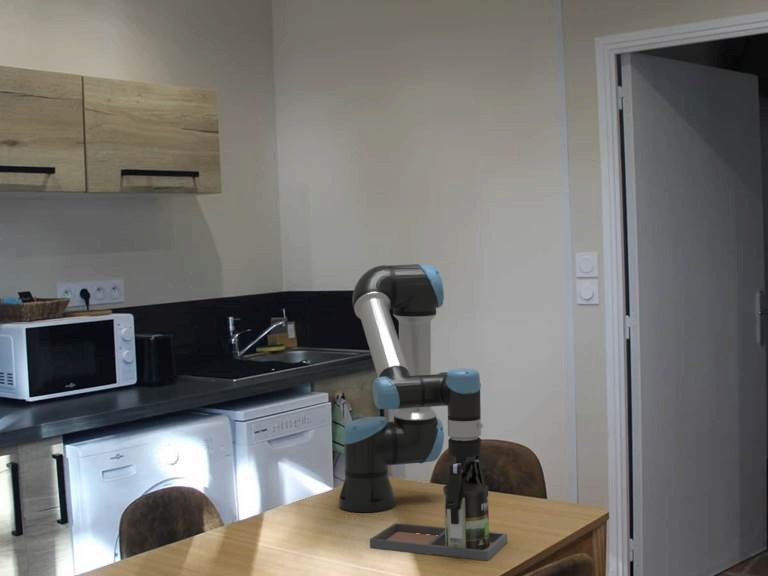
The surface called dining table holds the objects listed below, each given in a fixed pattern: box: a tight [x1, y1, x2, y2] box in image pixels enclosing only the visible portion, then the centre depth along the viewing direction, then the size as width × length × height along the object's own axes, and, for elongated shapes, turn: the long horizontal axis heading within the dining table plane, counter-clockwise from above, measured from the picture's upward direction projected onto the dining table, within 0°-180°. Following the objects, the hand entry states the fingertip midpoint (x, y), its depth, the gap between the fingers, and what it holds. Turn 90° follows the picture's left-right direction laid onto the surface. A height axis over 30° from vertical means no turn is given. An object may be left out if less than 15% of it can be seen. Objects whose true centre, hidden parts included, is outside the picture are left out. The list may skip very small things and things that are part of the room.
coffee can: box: [443, 483, 491, 550], centre depth 224 cm, size 10×10×14 cm
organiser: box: [369, 522, 508, 562], centre depth 227 cm, size 15×28×2 cm, turn 66°
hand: (466, 529), depth 224 cm, fingers open, 13 cm apart
